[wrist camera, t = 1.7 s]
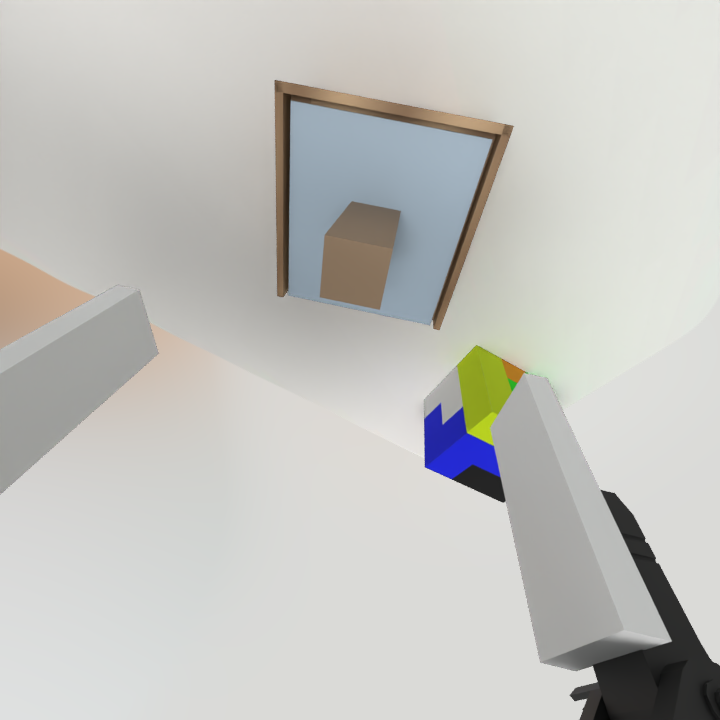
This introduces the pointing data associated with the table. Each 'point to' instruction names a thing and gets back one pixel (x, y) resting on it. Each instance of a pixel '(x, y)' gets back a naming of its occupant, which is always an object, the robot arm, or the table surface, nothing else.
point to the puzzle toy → (469, 421)
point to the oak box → (394, 112)
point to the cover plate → (385, 181)
